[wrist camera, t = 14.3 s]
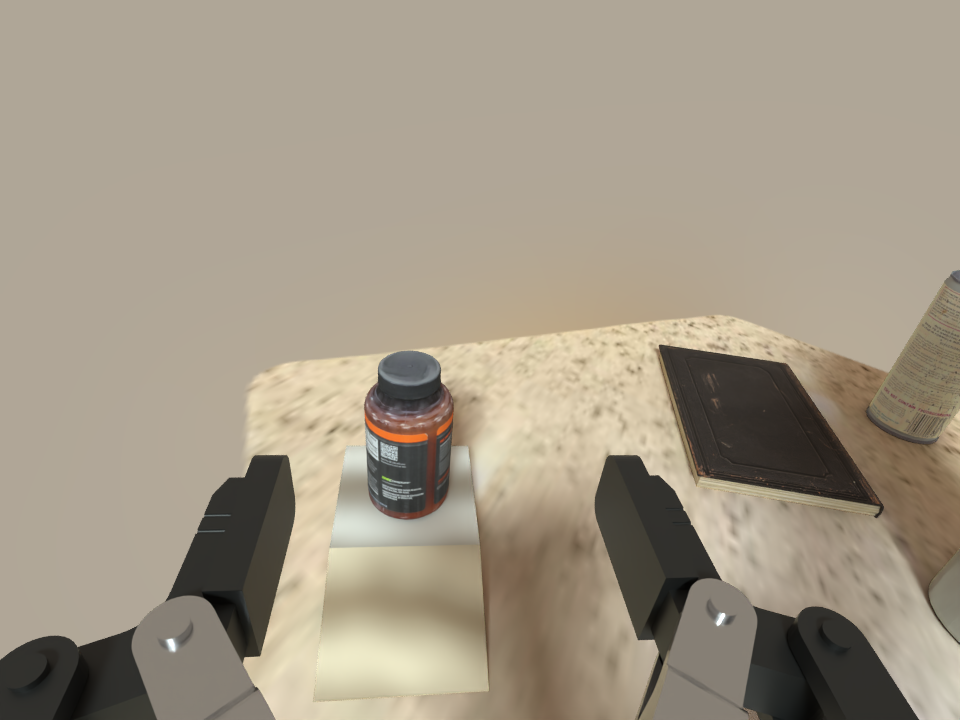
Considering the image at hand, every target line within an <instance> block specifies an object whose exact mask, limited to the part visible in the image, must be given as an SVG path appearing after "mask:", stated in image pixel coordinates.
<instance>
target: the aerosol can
mask: <svg viewBox="0 0 960 720" xmlns="http://www.w3.org/2000/svg"><path fill="white" fill-rule="evenodd" d="M959 409H960V270H957V271H953V272H952V274H951V275H950V277H949V278H947V279H946V280H945V282H944V283H943V285H942V287H941V288H940V290H939V291H938V293H937V295H936V296H935V298H934V300H933V301H932V303H931V305H930V306H929V308H928V310H927V311H926V313H925V315H924V316H923V318H922V319H921V321H920V323H919V324H918V326H917V328H916V329H915V331H914V333H913V335H912V336H911V337H910V339H909V341H908V342H907V344H906V346H905V347H904V349H903V351H902V352H901V354H900V356H899V357H898V359H897V361H896V362H895V364H894V366H893V367H892V369H891V370H890V372H889V374H888V375H887V377H886V379H885V380H884V382H883V384H882V385H881V387H880V389H879V390H878V392H877V393H876V395H875V397H874V398H873V400H872V402H871V403H870V405H869V407H868V408H867V410H866V413H867V416H868V417H869V419H870V420H871V421H872V422H873V423H874V424H875V425H877V426H878V427H879V428H881V429H882V430H884V431H886V432H887V433H889V434H891V435H893V436H896V437H898V438H900V439H903V440H906V441H910V442H913V443H920V444H932V443H934V442H936V441H937V440H938V438H939V436H941V434H942V433H943V431H944V430H945V429H946V427H947V426H948V424H949V423H950V422H951V420H952V419H953V418H954V416H955V415H956V413H957V412H958V411H959Z"/></svg>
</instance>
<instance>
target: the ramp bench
mask: <svg viewBox="0 0 960 720" xmlns="http://www.w3.org/2000/svg"><path fill="white" fill-rule="evenodd" d="M367 479H368V477H367V453H366V446H346V451H345V457H344V463H343V470H342V476H341V482H340V488H339V494H338V500H337V506H336V512H335V518H334V524H333V530H332V536H331V543H330V549H329V558H328V568H327V577H326V586H325V596H324V605H323V614H322V624H321V633H320V642H319V652H318V661H317V670H316V680H315V689H314V698H313V702H321V701H337V700H354V699H370V698H386V697H403V696H419V695H435V694H452V693H468V692H484V691H489V683H488V667H487V651H486V634H485V618H484V602H483V586H482V569H481V553H480V541H479V532H478V524H477V516H476V508H475V500H474V491H473V483H472V475H471V467H470V458H469V450H468V446H451V456H450V475H449V486H448V492H447V496H446V498H445V500H444V502H443V503H442V505H441V506H440V507H439V508H438V509H437V510H436V511H434V512H432V513H431V514H429V515H426V516H424V517H421V518H417V519H412V520H411V519H409V520H404V519H397V518H393V517H389V516H387V515H385V514H383V513H382V512H380V511H379V510H378V509H377V508H376V507H375V506H374V505H373V503H372V501H371V500H370V497H369V490H368V480H367Z"/></svg>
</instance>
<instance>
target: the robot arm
mask: <svg viewBox="0 0 960 720" xmlns="http://www.w3.org/2000/svg"><path fill="white" fill-rule="evenodd" d="M595 514H596V519H597V522H598V525H599V528H600V531H601V534H602V536H603V539H604V542H605V545H606V548H607V551H608V554H609V557H610V560H611V563H612V566H613V569H614V571H615V574H616V577H617V580H618V583H619V586H620V589H621V592H622V595H623V598H624V601H625V604H626V606H627V609H628V612H629V615H630V618H631V621H632V624H633V627H634V630H635V633H636V636H637V638H638V640H653V639H654V640H655V642H656V645H657V648H658V650H659V652H658V654H657V657H656V659H655V662H654V665H653V668H652V671H651V674H650V677H649V680H648V683H647V686H646V689H645V692H644V695H643V698H642V701H641V704H640V707H639V709H638V712H637V715H636V718H635V720H749V715H748V712H747V711H745V710H744V709H743V707H744V708H748V709H751V710H754V711H756V712H757V714H758V717H759V719H760V720H919V719H918V718H917V716H916V714H915V713H914V711H913V710H912V708H911V707H910V705H909V704H908V702H907V701H906V699H905V697H904V696H903V694H902V693H901V691H900V690H899V688H898V687H897V685H896V684H895V682H894V681H893V679H892V677H891V676H890V674H889V673H888V671H887V670H886V668H885V667H884V665H883V664H882V662H881V661H880V659H879V657H878V656H877V654H876V653H875V651H874V650H873V648H872V647H871V645H870V644H869V642H868V641H867V639H866V638H865V636H864V635H863V634H862V632H861V631H860V630H859V629H858V628H857V627H856V626H855V625H854V624H853V623H852V622H850V621H849V620H848V619H846V618H845V617H843V616H842V615H840V614H838V613H836V612H834V611H832V610H829V609H827V608H823V607H808V608H805V609H804V610H802V611H801V612H800V614H799V615H798V616H797V618H793V617H789V616H786V615H782V614H778V613H775V612H771V611H767V610H764V609H760V608H757V607H755V606H753V605H752V604H751V603H750V601H749V600H748V599H747V598H746V596H745V595H744V594H743V593H742V592H740V591H739V590H738V589H737V588H735V587H734V586H732V585H730V584H729V583H726V582H724V581H722V580H721V578H720V576H719V574H718V573H717V571H716V569H715V567H714V565H713V563H712V561H711V559H710V557H709V555H708V554H707V552H706V550H705V548H704V546H703V544H702V542H701V540H700V538H699V536H698V535H697V533H696V531H695V529H694V527H693V525H691V521H690V519H689V517H688V516H687V514H686V512H685V511H684V510H683V506H682V504H681V502H680V500H679V498H678V496H677V495H676V493H675V491H674V490H673V489H672V488H671V487H670V486H669V485H668V484H667V483H666V482H665V481H664V480H663V479H662V478H661V477H660V476H659V475H655V476H649V474H648V472H647V470H646V468H645V466H644V464H643V461H642V460H641V458H640V457H639V456H637V455H610V456H608V457H607V459H606V461H605V465H604V468H603V472H602V475H601V478H600V482H599V485H598V489H597V492H596V496H595ZM204 515H205V516H204V518H202V521H201V523H200V525H199V527H198V533H197V534H195V537H194V539H193V542H192V544H191V546H190V549H189V551H188V553H187V555H186V558H185V560H184V562H183V564H182V567H181V569H180V572H179V574H178V576H177V578H176V581H175V583H174V585H173V588H172V590H171V592H170V594H169V596H168V598H167V599H166V601H165V602H164V603H162V604H160V605H159V606H157V607H156V608H154V609H153V610H152V611H151V612H149V613H148V614H147V615H146V616H145V617H144V619H143V620H142V621H141V622H140V624H139V625H138V626H136V627H134V628H132V629H130V630H128V631H126V632H123V633H121V634H117V635H114V636H111V637H108V638H105V639H102V640H99V641H95V642H92V643H89V644H86V645H83V646H80V647H77V646H76V644H75V643H74V642H73V641H72V640H70V639H69V638H66V637H62V636H48V637H42V638H38V639H35V640H32V641H30V642H27V643H25V644H24V645H21V646H20V647H18V648H16V649H15V650H13V651H12V652H10V653H9V654H7V655H6V656H5V657H4V658H2V659H1V660H0V720H275V718H274V716H273V714H272V712H271V710H270V708H269V706H268V704H267V702H266V701H265V699H264V697H263V695H262V694H261V692H260V690H259V689H258V688H257V687H255V686H254V684H253V683H252V681H251V679H250V677H249V675H248V673H247V671H246V670H245V668H244V666H243V661H244V657H256V656H260V655H261V651H262V647H263V643H264V639H265V635H266V631H267V627H268V623H269V619H270V615H271V611H272V607H273V603H274V599H275V595H276V591H277V587H278V583H279V579H280V576H281V572H282V568H283V564H284V560H285V556H286V552H287V548H288V544H289V540H290V536H291V532H292V528H293V523H294V517H295V495H294V488H293V482H292V475H291V469H290V463H289V458H288V456H287V455H255V456H254V457H253V458H252V460H251V463H250V465H249V468H248V470H247V473H246V476H245V478H229V479H228V480H227V481H226V482H225V483H224V484H223V485H222V486H221V487H220V488H219V489H218V490H217V491H216V492H215V493H214V494H213V495H212V497H211V500H210V502H209V505H208V507H207V509H206V511H205V514H204ZM928 594H929V598H930V602H931V605H932V607H933V609H934V611H935V613H936V615H937V616H938V618H939V619H940V621H941V622H942V623H943V625H944V626H945V627H946V629H947V630H948V631H949V632H950V633H951V634H952V635H953V636H954V637H955V639H956V640H957V641H958V642H959V643H960V549H959V550H958V551H957V552H956V553H955V554H954V555H953V557H952V558H951V559H950V560H949V561H948V562H947V563H946V565H945V566H944V567H943V568H942V569H941V570H940V571H939V573H938V574H937V575H936V576H935V577H934V578H933V580H932V581H931V583H930V585H929V593H928Z"/></svg>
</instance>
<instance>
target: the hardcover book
mask: <svg viewBox="0 0 960 720" xmlns="http://www.w3.org/2000/svg"><path fill="white" fill-rule="evenodd" d="M659 349H660V356H659V359H660V363H661V366H662V370H663V373H664V377H665V380H666V383H667V387H668V390H669V394H670V397H671V401H672V404H673V408H674V411H675V414H676V418H677V421H678V425H679V428H680V432H681V435H682V438H683V442H684V445H685V449H686V452H687V456H688V459H689V462H690V466H691V469H692V473H693V476H694V480H695V483H696V487H702V488H708V489H714V490H720V491H726V492H732V493H738V494H745V495H751V496H757V497H763V498H769V499H775V500H781V501H787V502H793V503H799V504H805V505H811V506H817V507H823V508H829V509H835V510H841V511H847V512H853V513H859V514H865V515H871V516H874V517H875V518H877V517H878V516H879V515H880V514H881V513H882V511H883V509H884V506H883V504H882V503H881V501H880V500H879V498H878V497H877V495H876V494H875V492H874V491H873V490H872V488H871V487H870V485H869V484H868V482H867V481H866V479H865V478H864V476H863V475H862V473H861V472H860V470H859V469H858V467H857V466H856V464H855V463H854V462H853V460H852V459H851V457H850V456H849V454H848V453H847V451H846V450H845V448H844V447H843V445H842V444H841V442H840V441H839V439H838V438H837V436H836V435H835V433H834V432H833V431H832V429H831V428H830V426H829V425H828V423H827V422H826V420H825V419H824V417H823V416H822V414H821V413H820V411H819V410H818V408H817V407H816V405H815V404H814V402H813V401H812V400H811V398H810V397H809V395H808V394H807V392H806V391H805V389H804V388H803V386H802V385H801V383H800V382H799V380H798V379H797V377H796V376H795V374H794V373H793V372H792V370H791V369H790V367H789V366H788V364H786V363H779V362H773V361H766V360H759V359H753V358H746V357H739V356H733V355H726V354H719V353H713V352H706V351H699V350H693V349H686V348H679V347H673V346H666V345H659Z"/></svg>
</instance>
